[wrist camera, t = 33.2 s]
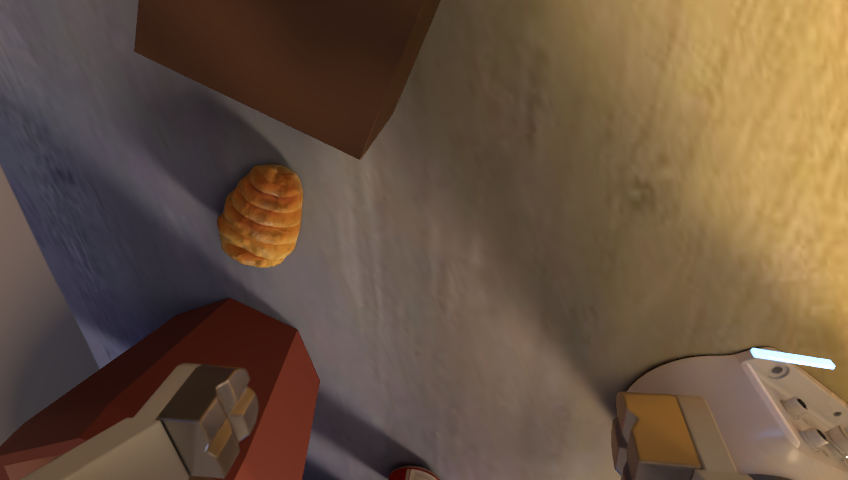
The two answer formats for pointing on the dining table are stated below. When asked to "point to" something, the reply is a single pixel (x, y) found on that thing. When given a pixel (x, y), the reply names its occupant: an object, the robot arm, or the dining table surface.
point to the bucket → (156, 359)
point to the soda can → (412, 473)
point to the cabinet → (295, 57)
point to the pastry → (262, 216)
